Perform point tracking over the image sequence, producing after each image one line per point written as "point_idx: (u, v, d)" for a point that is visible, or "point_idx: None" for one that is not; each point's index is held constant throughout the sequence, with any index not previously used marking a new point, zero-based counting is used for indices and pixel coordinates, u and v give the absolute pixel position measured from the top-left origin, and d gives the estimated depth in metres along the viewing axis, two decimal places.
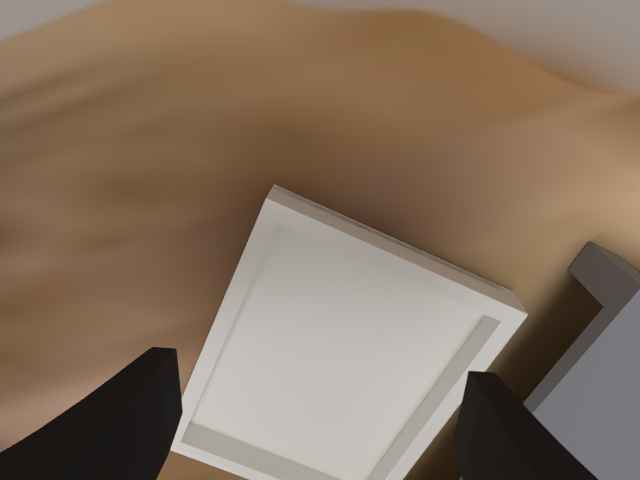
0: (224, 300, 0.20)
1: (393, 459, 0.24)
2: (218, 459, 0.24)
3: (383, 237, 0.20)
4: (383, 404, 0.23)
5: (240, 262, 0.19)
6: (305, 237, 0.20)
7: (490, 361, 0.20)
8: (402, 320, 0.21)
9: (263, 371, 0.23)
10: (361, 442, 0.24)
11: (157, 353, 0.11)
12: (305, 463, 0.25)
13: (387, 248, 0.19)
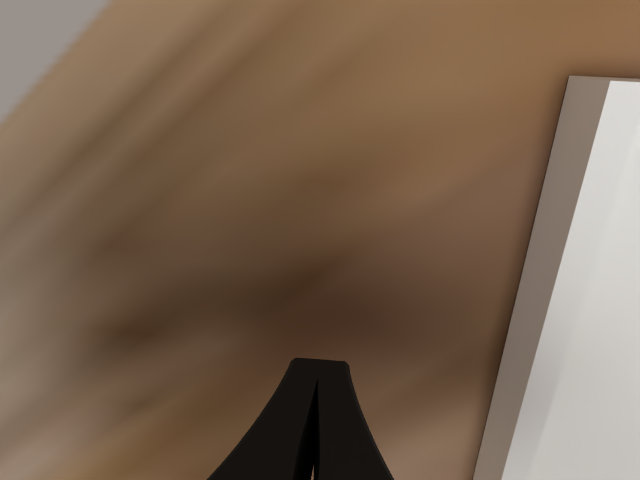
0: (554, 295, 0.12)
1: None
2: None
3: None
4: None
5: (575, 219, 0.11)
6: None
7: None
8: None
9: (608, 390, 0.14)
10: None
11: (306, 365, 0.10)
12: None
13: None
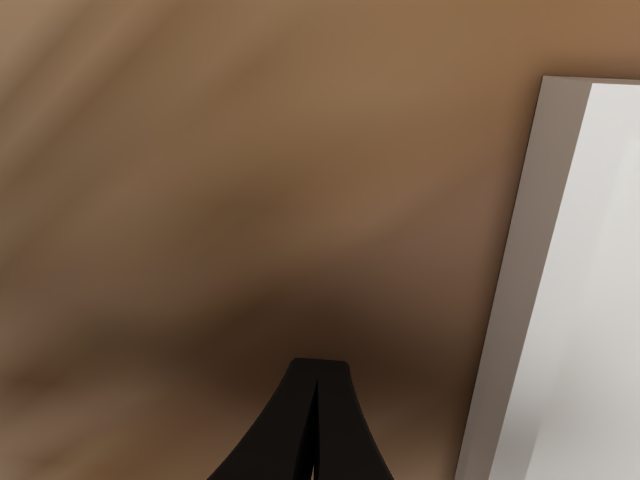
0: (525, 354, 0.09)
1: None
2: None
3: None
4: None
5: (548, 262, 0.08)
6: None
7: None
8: None
9: (595, 455, 0.12)
10: None
11: (306, 365, 0.10)
12: None
13: None
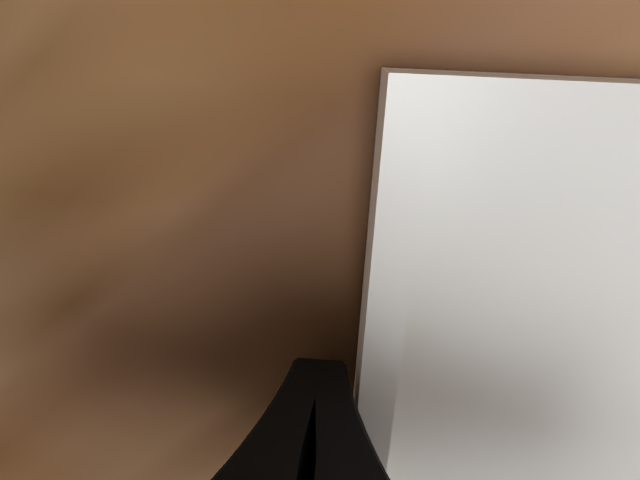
0: (367, 342, 0.09)
1: None
2: None
3: None
4: None
5: (375, 250, 0.08)
6: (487, 152, 0.09)
7: None
8: None
9: (472, 444, 0.12)
10: None
11: (309, 365, 0.10)
12: None
13: None
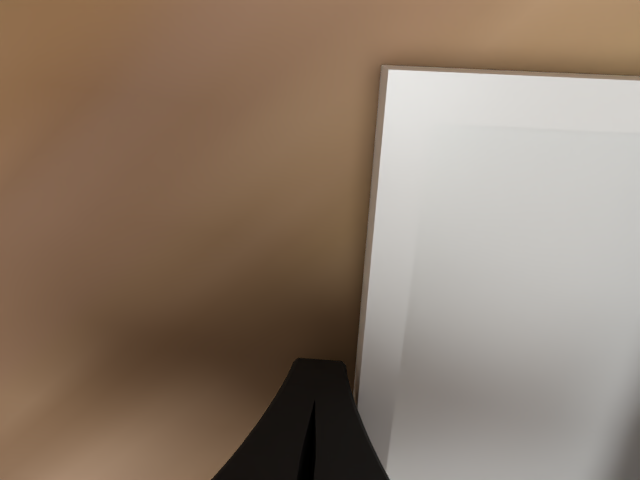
0: (366, 339, 0.09)
1: None
2: None
3: None
4: None
5: (375, 247, 0.08)
6: (487, 149, 0.09)
7: None
8: None
9: (472, 443, 0.12)
10: None
11: (310, 365, 0.10)
12: None
13: None
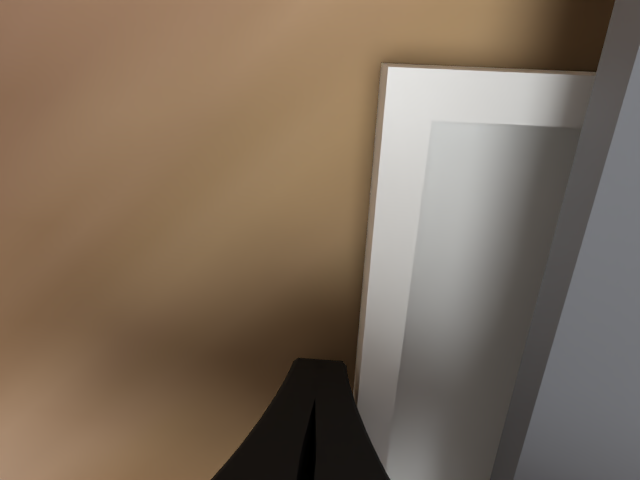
0: (366, 337, 0.09)
1: None
2: None
3: None
4: None
5: (375, 245, 0.08)
6: (487, 147, 0.09)
7: None
8: None
9: (472, 441, 0.12)
10: None
11: (309, 365, 0.10)
12: None
13: None
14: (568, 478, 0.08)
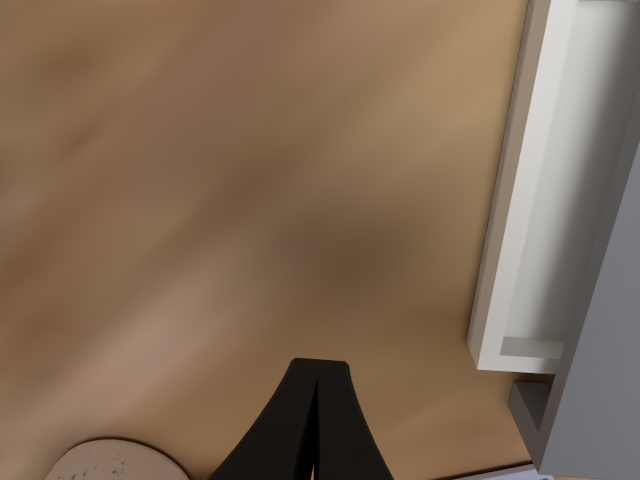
0: (525, 139, 0.16)
1: None
2: (550, 363, 0.19)
3: None
4: None
5: (537, 76, 0.15)
6: (597, 23, 0.15)
7: None
8: None
9: (572, 235, 0.18)
10: None
11: (306, 365, 0.10)
12: None
13: None
14: None
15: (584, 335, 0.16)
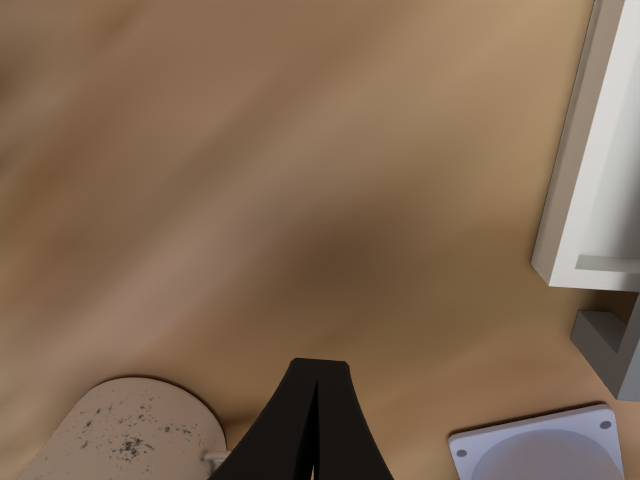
0: (626, 4, 0.14)
1: None
2: (631, 278, 0.17)
3: None
4: None
5: None
6: None
7: None
8: None
9: None
10: None
11: (306, 365, 0.10)
12: None
13: None
14: None
15: None
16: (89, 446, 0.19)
